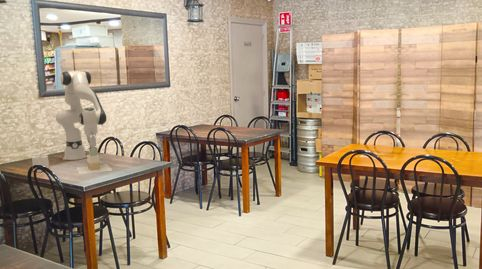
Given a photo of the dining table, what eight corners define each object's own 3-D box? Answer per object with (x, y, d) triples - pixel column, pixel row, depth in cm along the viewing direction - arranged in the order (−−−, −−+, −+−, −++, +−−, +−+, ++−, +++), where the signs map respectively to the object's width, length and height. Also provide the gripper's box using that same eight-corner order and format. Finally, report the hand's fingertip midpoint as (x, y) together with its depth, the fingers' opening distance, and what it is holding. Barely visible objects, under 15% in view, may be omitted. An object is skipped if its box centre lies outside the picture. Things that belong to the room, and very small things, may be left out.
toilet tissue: (35, 173, 331) (33, 159, 330) (31, 170, 341) (29, 156, 339) (51, 170, 337) (50, 156, 336) (46, 167, 347) (45, 154, 345)
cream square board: (76, 168, 343) (75, 167, 343) (107, 164, 352) (107, 163, 351) (79, 175, 321) (79, 174, 321) (112, 171, 330) (112, 170, 330)
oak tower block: (88, 168, 338) (87, 161, 337) (98, 167, 341) (97, 160, 340) (89, 170, 332) (88, 163, 331) (99, 169, 334) (99, 162, 334)
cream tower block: (87, 161, 337) (86, 154, 336) (97, 160, 340) (96, 153, 339) (89, 163, 331) (88, 156, 330) (99, 162, 334) (99, 155, 333)
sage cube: (88, 154, 336) (88, 147, 335) (96, 153, 338) (95, 146, 338) (90, 155, 332) (90, 148, 331) (97, 154, 334) (97, 147, 333)
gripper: (97, 132, 324) (99, 152, 326) (93, 129, 342) (95, 148, 345) (87, 133, 321) (89, 153, 324) (84, 129, 340) (86, 148, 342)
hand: (92, 150), depth 334 cm, fingers open, 8 cm apart
